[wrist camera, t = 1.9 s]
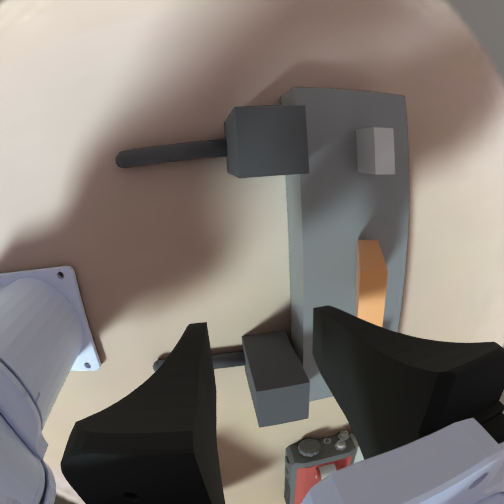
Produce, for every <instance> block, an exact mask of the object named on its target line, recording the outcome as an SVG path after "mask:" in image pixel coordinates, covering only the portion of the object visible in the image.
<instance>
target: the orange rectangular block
mask: <svg viewBox="0 0 504 504" xmlns="http://www.w3.org/2000/svg"><path fill="white" fill-rule="evenodd" d="M387 275H388V270H387V267H386V263H385V260H384V257H383V254H382V251H381V248H380V245H379V242H378V240H357V271H356V317H358V318H360V319H363V320H365V321H367V322H370V323H372V324H375V325H377V326H380V327H382V325H383V316H384V307H385V298H386V287H387Z"/></svg>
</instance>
